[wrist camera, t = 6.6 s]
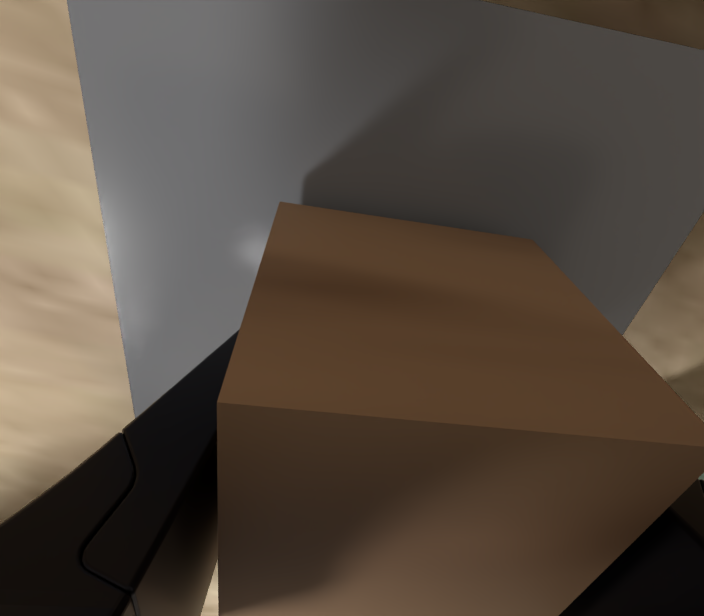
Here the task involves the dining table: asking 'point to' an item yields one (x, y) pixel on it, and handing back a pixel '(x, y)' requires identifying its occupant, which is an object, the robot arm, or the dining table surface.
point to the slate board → (373, 146)
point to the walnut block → (431, 428)
